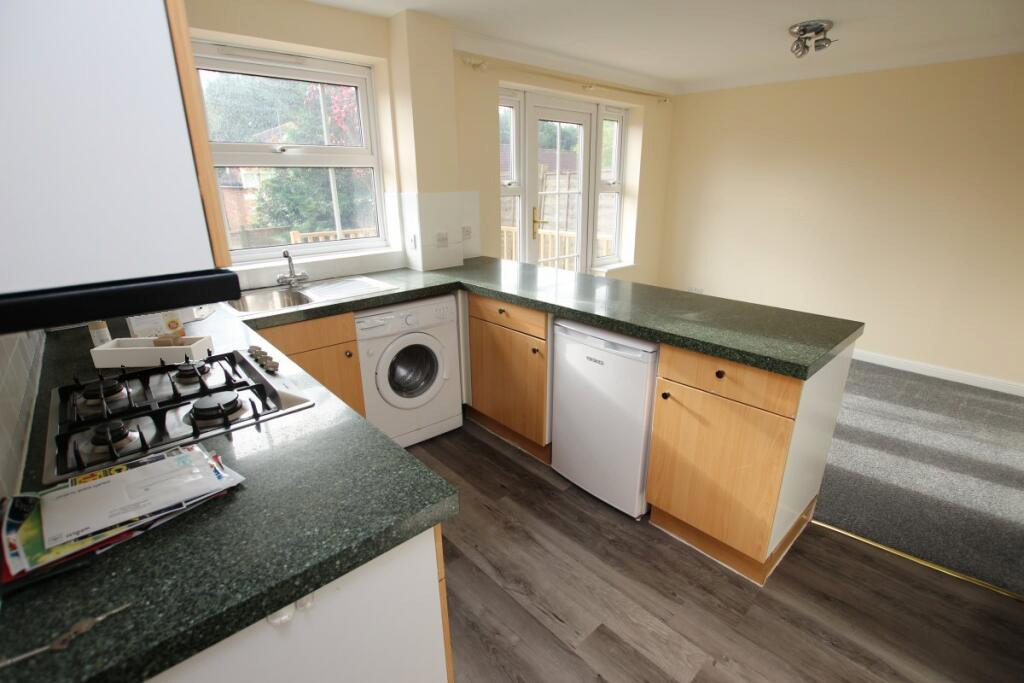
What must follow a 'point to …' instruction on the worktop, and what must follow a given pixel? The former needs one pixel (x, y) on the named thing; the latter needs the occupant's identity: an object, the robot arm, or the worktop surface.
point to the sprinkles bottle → (99, 333)
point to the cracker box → (156, 325)
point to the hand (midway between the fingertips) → (129, 299)
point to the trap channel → (148, 352)
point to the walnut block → (168, 341)
